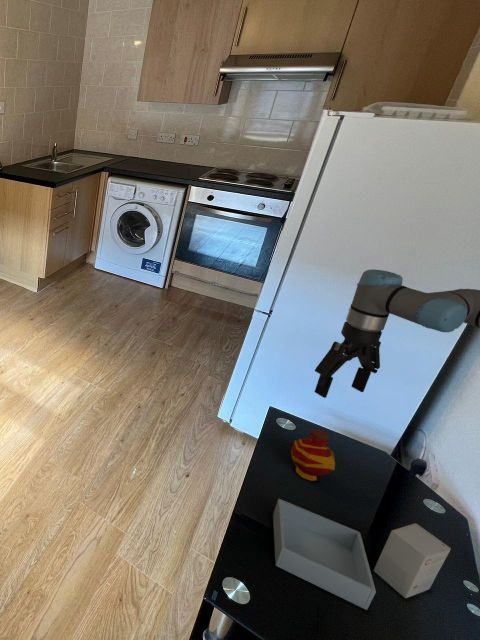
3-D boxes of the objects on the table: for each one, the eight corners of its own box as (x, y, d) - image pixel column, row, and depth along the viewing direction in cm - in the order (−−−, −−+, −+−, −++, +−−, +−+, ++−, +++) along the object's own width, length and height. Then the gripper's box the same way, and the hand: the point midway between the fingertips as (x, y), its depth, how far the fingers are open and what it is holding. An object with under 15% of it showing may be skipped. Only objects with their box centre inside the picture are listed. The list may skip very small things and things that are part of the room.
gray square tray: (352, 549, 100) (360, 532, 98) (367, 610, 87) (376, 592, 86) (272, 514, 109) (278, 498, 107) (275, 565, 96) (281, 548, 94)
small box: (396, 562, 97) (415, 522, 93) (430, 590, 92) (452, 548, 88) (371, 570, 96) (390, 529, 91) (405, 599, 90) (427, 557, 86)
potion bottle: (295, 484, 118) (310, 443, 114) (278, 457, 128) (291, 418, 123) (337, 491, 116) (354, 450, 111) (317, 464, 126) (331, 424, 121)
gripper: (382, 316, 115) (357, 379, 121) (312, 323, 109) (291, 388, 116) (414, 328, 108) (387, 395, 114) (342, 336, 103) (317, 405, 109)
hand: (338, 392), depth 115 cm, fingers open, 13 cm apart
